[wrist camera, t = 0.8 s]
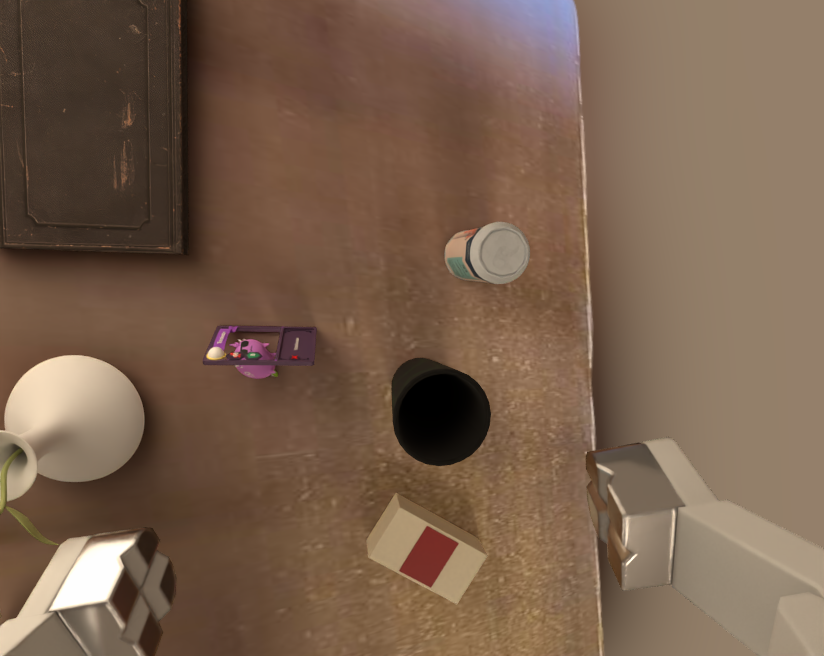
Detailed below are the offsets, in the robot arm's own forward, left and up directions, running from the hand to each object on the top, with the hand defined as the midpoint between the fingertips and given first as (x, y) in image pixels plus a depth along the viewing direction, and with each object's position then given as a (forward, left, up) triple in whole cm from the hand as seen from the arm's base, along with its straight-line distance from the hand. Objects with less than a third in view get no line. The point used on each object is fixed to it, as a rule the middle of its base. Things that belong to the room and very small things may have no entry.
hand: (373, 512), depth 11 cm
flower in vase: (+2, +25, -45) cm, 51 cm away
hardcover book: (+25, +11, -45) cm, 52 cm away
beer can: (-1, -13, -45) cm, 47 cm away
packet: (-24, +4, -44) cm, 50 cm away
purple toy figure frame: (0, +8, -45) cm, 45 cm away
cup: (-10, -3, -45) cm, 46 cm away
